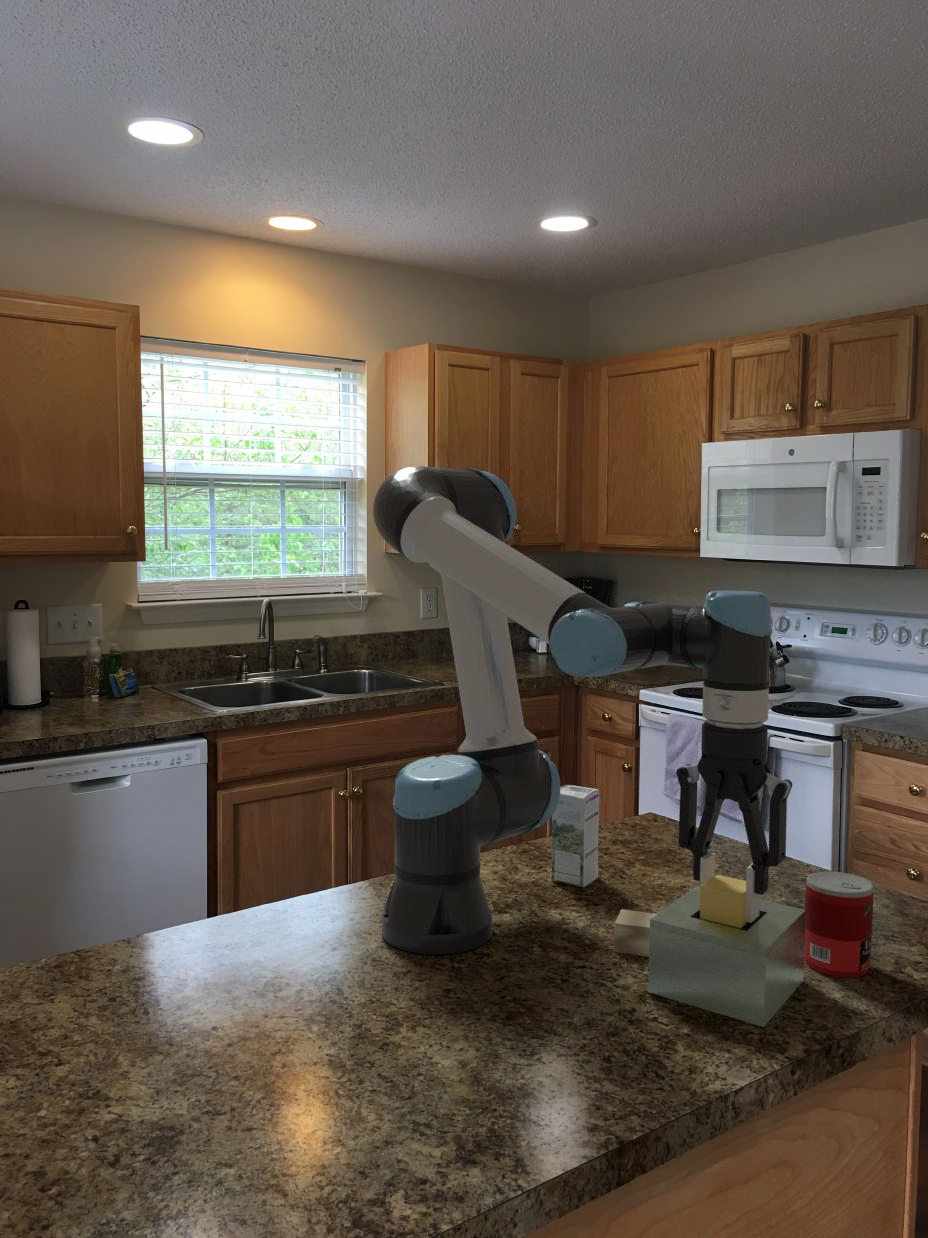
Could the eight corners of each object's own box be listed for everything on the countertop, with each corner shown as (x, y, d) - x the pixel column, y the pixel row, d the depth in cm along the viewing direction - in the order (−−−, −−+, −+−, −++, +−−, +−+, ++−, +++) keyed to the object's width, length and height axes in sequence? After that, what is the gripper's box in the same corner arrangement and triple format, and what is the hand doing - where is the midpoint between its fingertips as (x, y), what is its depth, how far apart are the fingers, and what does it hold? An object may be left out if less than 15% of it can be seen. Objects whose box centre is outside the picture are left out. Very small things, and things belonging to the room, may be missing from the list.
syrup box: (599, 877, 158) (600, 788, 157) (583, 889, 153) (584, 796, 152) (566, 871, 161) (568, 782, 160) (549, 882, 156) (551, 791, 155)
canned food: (875, 982, 123) (879, 895, 122) (807, 976, 124) (810, 889, 123) (863, 955, 130) (867, 873, 129) (799, 950, 132) (802, 869, 131)
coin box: (648, 992, 120) (650, 919, 119) (695, 952, 131) (697, 885, 130) (763, 1027, 111) (766, 949, 111) (803, 981, 123) (805, 910, 122)
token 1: (614, 952, 131) (614, 923, 131) (620, 938, 136) (621, 909, 135) (652, 958, 129) (653, 928, 129) (658, 943, 134) (658, 914, 134)
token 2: (699, 918, 120) (700, 886, 119) (716, 906, 124) (717, 874, 123) (740, 928, 117) (741, 895, 116) (756, 915, 121) (757, 883, 120)
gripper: (650, 717, 120) (646, 905, 122) (801, 737, 110) (794, 942, 112) (676, 708, 126) (672, 887, 129) (822, 726, 116) (814, 920, 118)
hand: (728, 912), depth 120 cm, fingers closed on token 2, 5 cm apart
